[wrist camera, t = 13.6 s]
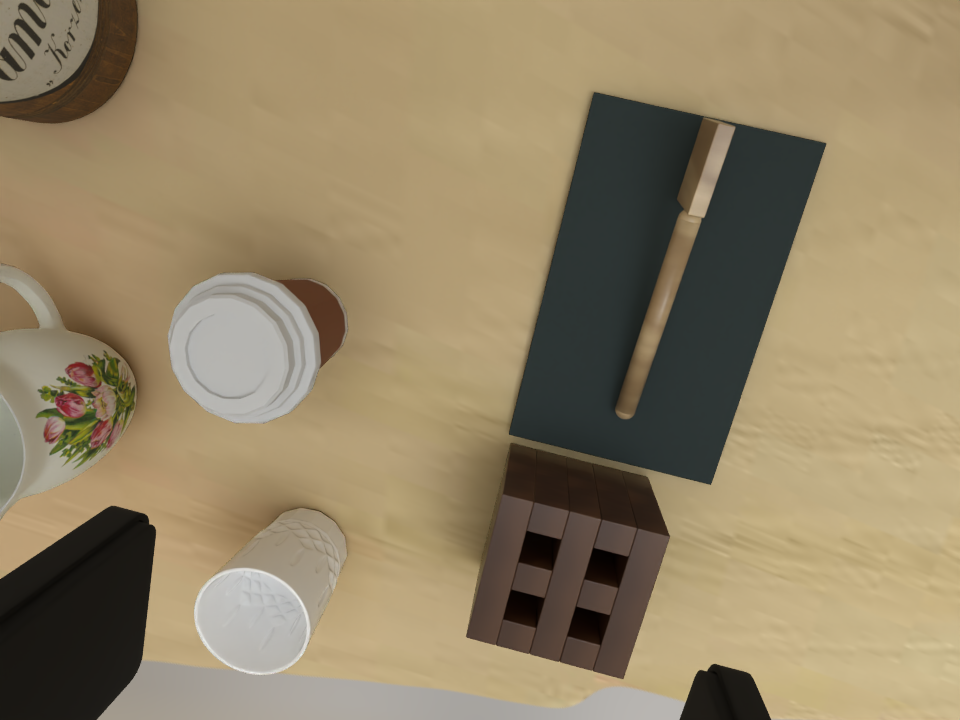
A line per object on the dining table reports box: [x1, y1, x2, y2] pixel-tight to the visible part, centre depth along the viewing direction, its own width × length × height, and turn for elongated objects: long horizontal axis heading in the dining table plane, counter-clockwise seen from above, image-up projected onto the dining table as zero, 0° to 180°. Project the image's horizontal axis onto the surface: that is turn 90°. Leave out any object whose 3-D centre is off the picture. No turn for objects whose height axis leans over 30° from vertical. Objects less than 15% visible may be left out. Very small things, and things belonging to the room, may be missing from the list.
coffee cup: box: [168, 272, 348, 423], centre depth 42 cm, size 9×9×12 cm
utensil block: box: [466, 443, 670, 679], centre depth 45 cm, size 10×10×9 cm
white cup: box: [194, 508, 347, 675], centre depth 47 cm, size 8×8×10 cm
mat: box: [509, 93, 826, 485], centre depth 44 cm, size 15×24×1 cm, turn 167°
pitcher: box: [0, 264, 137, 520], centre depth 44 cm, size 11×18×14 cm, turn 6°
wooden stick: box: [615, 118, 736, 419], centre depth 42 cm, size 1×5×20 cm
